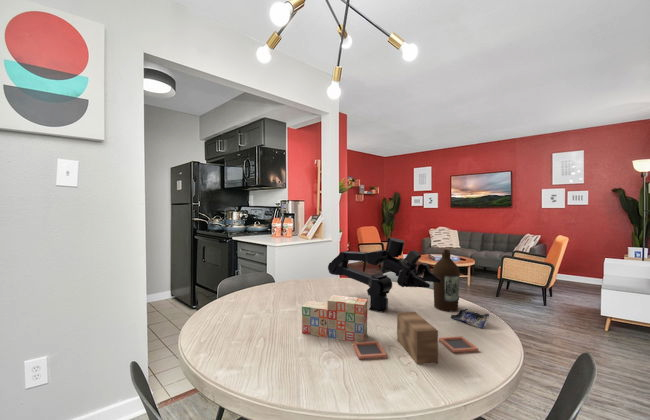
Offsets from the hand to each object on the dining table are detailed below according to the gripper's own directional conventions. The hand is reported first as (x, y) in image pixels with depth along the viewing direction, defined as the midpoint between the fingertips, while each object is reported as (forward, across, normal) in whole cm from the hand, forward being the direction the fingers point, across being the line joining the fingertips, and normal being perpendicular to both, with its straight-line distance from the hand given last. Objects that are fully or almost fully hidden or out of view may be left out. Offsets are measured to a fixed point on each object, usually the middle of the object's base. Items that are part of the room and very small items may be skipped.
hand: (435, 283), depth 101 cm
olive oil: (-1, +22, +16) cm, 27 cm away
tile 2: (+15, -10, +12) cm, 21 cm away
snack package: (+11, +13, +14) cm, 22 cm away
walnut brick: (+7, -21, +14) cm, 27 cm away
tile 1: (-2, -32, +16) cm, 36 cm away
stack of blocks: (-16, -30, +20) cm, 40 cm away
